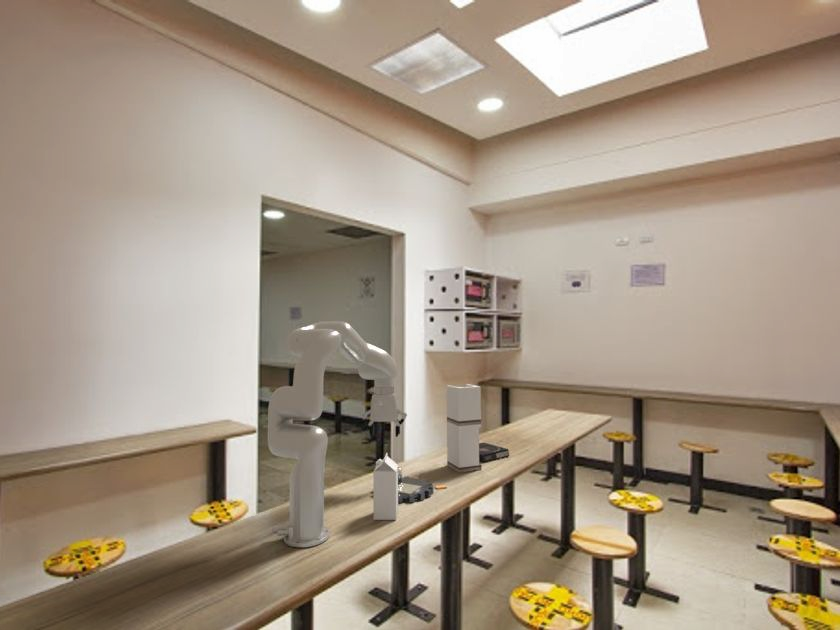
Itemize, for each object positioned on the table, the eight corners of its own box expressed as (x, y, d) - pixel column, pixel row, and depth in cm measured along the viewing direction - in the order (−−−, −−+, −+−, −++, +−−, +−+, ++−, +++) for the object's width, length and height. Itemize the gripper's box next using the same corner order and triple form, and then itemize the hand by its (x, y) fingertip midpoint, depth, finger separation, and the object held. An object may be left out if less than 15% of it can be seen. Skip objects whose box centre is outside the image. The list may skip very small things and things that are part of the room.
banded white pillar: (481, 469, 192) (480, 386, 194) (459, 472, 188) (458, 387, 190) (468, 462, 203) (467, 384, 204) (447, 465, 199) (446, 385, 200)
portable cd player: (483, 464, 202) (483, 455, 202) (458, 456, 216) (458, 447, 216) (509, 458, 212) (509, 449, 212) (483, 450, 225) (483, 442, 226)
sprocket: (380, 505, 152) (380, 486, 152) (368, 485, 173) (368, 468, 173) (441, 498, 158) (441, 479, 159) (422, 479, 179) (422, 462, 179)
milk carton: (398, 511, 147) (397, 452, 148) (396, 520, 140) (395, 458, 141) (376, 511, 148) (376, 452, 149) (373, 520, 141) (373, 458, 141)
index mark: (436, 489, 168) (436, 487, 168) (434, 487, 170) (434, 486, 170) (446, 488, 170) (446, 486, 170) (444, 486, 171) (444, 485, 171)
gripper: (359, 392, 171) (360, 438, 170) (405, 392, 169) (406, 438, 169) (364, 389, 178) (364, 433, 178) (407, 389, 177) (408, 434, 176)
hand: (384, 435), depth 173 cm, fingers open, 9 cm apart
